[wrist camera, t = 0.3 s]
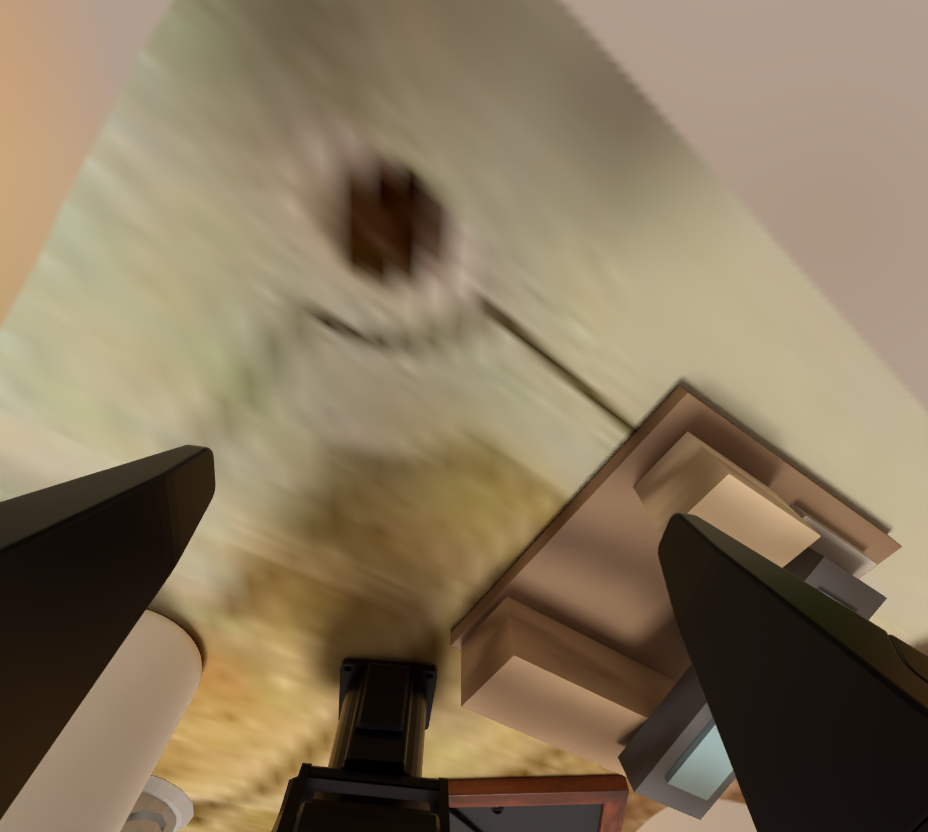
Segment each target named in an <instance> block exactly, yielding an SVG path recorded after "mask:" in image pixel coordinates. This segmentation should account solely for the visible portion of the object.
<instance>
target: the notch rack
mask: <svg viewBox="0 0 928 832" xmlns="http://www.w3.org/2000/svg"><path fill="white" fill-rule="evenodd" d="M675 513H686V514H693V515H696V516H698V517H700V518H701V519H703V520H705V521H706V522H708V523H710V524H711V525H713V526H714V527H716V528H718V529H719V530H721V531H723V532H724V533H726V534H728V535H729V536H731V537H733V538H734V539H736V540H737V541H739V542H741V543H742V544H744V545H746V546H747V547H749V548H751V549H752V550H754V551H755V552H757V553H759V554H760V555H762V556H764V557H765V558H767V559H769V560H770V561H772V562H773V563H775V564H777V565H778V566H780V567H782V568H783V567H784V566H785V565H786V564H788V563H789V562H790V561H791V560H793V559H794V558H795V557H796V556H797V555H799V554H800V553H801V552H802V551H804V550H805V549H806V548H807V547H809V548H811V549H813V550H814V551H816V552H818V553H819V554H821V555H823V556H824V557H826V558H827V559H829V560H830V561H832V562H833V563H835V564H836V565H838V566H839V567H841V568H842V569H844V570H845V571H847V572H848V573H850V574H851V575H853V576H854V577H856V578H857V579H859V578H860V577H862V576H863V575H864V574H866V573H867V572H869V571H870V570H871V569H873V568H874V567H875V566H877V565H878V564H879V563H881V562H882V561H883V560H885V559H886V558H887V557H889V556H890V555H891V554H893V553H894V552H895V551H897V550H898V549H899V548H901V547H902V546H901V545H900V544H899V543H897V542H896V541H895V540H893V539H892V538H891V537H890V536H888V535H887V534H886V533H884V532H883V531H881V530H880V529H879V528H877V527H876V526H875V525H873V524H872V523H870V522H869V521H868V520H866V519H865V518H863V517H862V516H861V515H859V514H858V513H856V512H855V511H854V510H852V509H851V508H849V507H848V506H847V505H845V504H844V503H842V502H841V501H840V500H838V499H837V498H835V497H834V496H833V495H831V494H830V493H828V492H827V491H826V490H824V489H823V488H822V487H820V486H819V485H817V484H816V483H815V482H813V481H812V480H810V479H809V478H808V477H806V476H805V475H803V474H802V473H801V472H799V471H798V470H796V469H795V468H794V467H792V466H791V465H789V464H788V463H787V462H785V461H784V460H782V459H781V458H780V457H778V456H777V455H775V454H774V453H773V452H771V451H770V450H769V449H767V448H766V447H764V446H763V445H762V444H760V443H759V442H757V441H756V440H755V439H753V438H752V437H750V436H749V435H748V434H746V433H745V432H743V431H742V430H741V429H739V428H738V427H736V426H735V425H734V424H732V423H731V422H729V421H728V420H727V419H725V418H724V417H722V416H721V415H720V414H718V413H717V412H715V411H714V410H713V409H711V408H710V407H709V406H707V405H706V404H704V403H703V402H702V401H700V400H699V399H697V398H696V397H695V396H693V395H692V394H690V393H689V392H688V391H686V390H685V389H683V388H682V387H681V386H678V387H677V388H676V389H675V390H674V391H673V392H672V393H671V394H670V395H669V397H668V398H667V399H666V400H665V401H664V402H663V403H662V404H661V405H660V406H659V407H658V408H657V410H656V411H655V412H654V413H653V414H652V415H651V416H650V417H649V418H648V419H647V420H646V422H645V423H644V424H643V425H642V426H641V427H640V428H639V429H638V430H637V431H636V432H635V433H634V435H633V436H632V437H631V438H630V439H629V440H628V441H627V442H626V443H625V444H624V445H623V447H622V448H621V449H620V450H619V451H618V452H617V453H616V454H615V455H614V456H613V457H612V458H611V460H610V461H609V462H608V463H607V464H606V465H605V466H604V467H603V468H602V469H601V470H600V472H599V473H598V474H597V475H596V476H595V477H594V478H593V479H592V480H591V481H590V482H589V483H588V485H587V486H586V487H585V488H584V489H583V490H582V491H581V492H580V493H579V494H578V495H577V497H576V498H575V499H574V500H573V501H572V502H571V503H570V504H569V505H568V506H567V507H566V508H565V510H564V511H563V512H562V513H561V514H560V515H559V516H558V517H557V518H556V519H555V520H554V522H553V523H552V524H551V525H550V526H549V527H548V528H547V529H546V530H545V531H544V532H543V533H542V535H541V536H540V537H539V538H538V539H537V540H536V541H535V542H534V543H533V544H532V545H531V547H530V548H529V549H528V550H527V551H526V552H525V553H524V554H523V555H522V556H521V557H520V558H519V560H518V561H517V562H516V563H515V564H514V565H513V566H512V567H511V568H510V569H509V570H508V572H507V573H506V574H505V575H504V576H503V577H502V578H501V579H500V580H499V581H498V582H497V583H496V585H495V586H494V587H493V588H492V589H491V590H490V591H489V592H488V593H487V594H486V595H485V597H484V598H483V599H482V600H481V601H480V602H479V603H478V604H477V605H476V606H475V607H474V608H473V610H472V611H471V612H470V613H469V614H468V615H467V616H466V617H465V618H464V619H463V620H462V622H461V623H460V624H459V625H458V626H457V627H456V628H455V629H454V630H453V631H452V632H451V647H453V648H455V649H457V650H460V651H461V707H463V708H466V709H468V710H470V711H473V712H475V713H477V714H480V715H482V716H484V717H487V718H489V719H491V720H494V721H496V722H498V723H501V724H503V725H505V726H508V727H510V728H513V729H515V730H517V731H520V732H522V733H524V734H527V735H529V736H531V737H534V738H536V739H538V740H541V741H543V742H545V743H548V744H550V745H552V746H555V747H557V748H559V749H562V750H564V751H567V752H569V753H571V754H574V755H576V756H578V757H581V758H583V759H585V760H588V761H590V762H592V763H595V764H597V765H599V766H602V767H604V768H606V769H609V770H611V771H613V772H616V773H618V774H621V775H623V776H625V777H627V776H626V774H625V772H624V770H623V768H622V765H621V763H620V761H619V759H618V756H619V755H620V754H621V752H622V751H623V750H624V748H625V747H626V746H627V745H628V743H629V742H630V741H631V740H632V738H633V737H634V736H635V735H636V733H637V732H638V731H639V729H640V728H641V727H642V726H643V724H644V723H645V722H646V721H647V719H648V718H649V717H650V716H651V714H652V713H653V712H654V711H655V709H656V708H657V707H658V705H659V704H660V703H661V702H662V700H663V699H664V698H665V697H666V695H667V694H668V693H669V692H670V690H671V689H672V688H673V686H674V685H675V684H676V683H677V681H678V680H679V679H680V678H681V676H682V675H683V674H684V673H685V671H686V670H687V669H688V667H689V666H690V665H691V664H692V663H691V660H690V658H689V655H688V653H687V650H686V647H685V645H684V642H683V640H682V637H681V634H680V631H679V629H678V626H677V622H676V619H675V616H674V613H673V609H672V605H671V602H670V598H669V594H668V591H667V587H666V583H665V580H664V576H663V572H662V569H661V565H660V561H659V558H658V546H659V542H660V540H661V538H662V535H663V533H664V531H665V528H666V526H667V524H668V521H669V519H670V517H671V516H672V515H673V514H675Z"/></svg>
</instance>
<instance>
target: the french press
mask: <svg viewBox="0 0 928 832" xmlns="http://www.w3.org/2000/svg"><path fill="white" fill-rule="evenodd" d="M193 816H194V811H193V803H192V802H191V800H190V799H189V798H188V797H187V795H186V794H185V793H184V792H183V790H181V789H179V788H178V787H176V786H174V785H173V784H171V783H169V782H168V781H166V780H164V779H161V778H158V777H155V776H152V775H150V777H149V779H148V781H147V783H146V785H145V786H144V788H143V790H142V792H141V794H140V796H139V798H138V799H137V801H136V803H135V805H134V807H133V809H132V810H131V812H130V814H129V816H128V818H127V820H126V822H125V823H124V825H123V827H122V829H121V831H120V832H177V831H178V830H180V829H182V828H183V827H185V826H186V825H187V824H188V823H189V821H190V820H191V819H192V817H193Z"/></svg>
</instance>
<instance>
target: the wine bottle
mask: <svg viewBox="0 0 928 832" xmlns="http://www.w3.org/2000/svg"><path fill="white" fill-rule="evenodd" d="M201 673H202V661H201V655H200V653H199V650H198V648H197V646H196V644H195V643H194V641H193V640H192V638H191V637H190V636H189V635H188V634H187V633H186V632H185V631H184V630H183V629H182V628H181V627H179V626H178V625H177V624H176V623H174V622H172V621H171V620H169V619H167V618H166V617H164V616H162V615H160V614H157V613H155V612H153V611H150V610H145V612H144V613H143V615H142V616H141V617H140V619H139V620H138V622H137V623H136V625H135V626H134V628H133V629H132V630H131V632H130V633H129V635H128V636H127V638H126V639H125V641H124V642H123V644H122V645H121V646H120V648H119V649H118V651H117V652H116V654H115V655H114V657H113V658H112V659H111V661H110V662H109V664H108V665H107V667H106V668H105V670H104V671H103V672H102V674H101V675H100V677H99V678H98V680H97V681H96V683H95V684H94V685H93V687H92V688H91V690H90V691H89V693H88V694H87V696H86V697H85V699H84V700H83V701H82V703H81V704H80V706H79V707H78V709H77V710H76V712H75V713H74V714H73V716H72V717H71V719H70V720H69V722H68V723H67V725H66V726H65V727H64V729H63V730H62V732H61V733H60V735H59V736H58V738H57V739H56V741H55V742H54V743H53V745H52V746H51V748H50V749H49V751H48V752H47V754H46V755H45V756H44V758H43V759H42V761H41V762H40V764H39V765H38V767H37V768H36V769H35V771H34V772H33V774H32V775H31V777H30V778H29V780H28V781H27V782H26V784H25V785H24V787H23V788H22V790H21V791H20V793H19V794H18V796H17V797H16V798H15V800H14V801H13V803H12V804H11V806H10V807H9V809H8V810H7V811H6V813H5V814H4V816H3V817H2V819H1V820H0V832H120V831H121V829H122V827H123V825H124V823H125V822H126V820H127V818H128V816H129V814H130V812H131V810H132V809H133V807H134V805H135V803H136V801H137V799H138V798H139V796H140V794H141V792H142V790H143V788H144V786H145V785H146V783H147V781H148V779H149V777H150V775H151V774H152V772H153V770H154V768H155V766H156V764H157V762H158V761H159V759H160V757H161V755H162V753H163V751H164V750H165V748H166V746H167V744H168V742H169V740H170V739H171V737H172V735H173V733H174V731H175V729H176V727H177V726H178V724H179V722H180V720H181V718H182V716H183V715H184V713H185V711H186V709H187V707H188V705H189V703H190V702H191V700H192V698H193V696H194V694H195V692H196V690H197V688H198V686H199V682H200V679H201Z"/></svg>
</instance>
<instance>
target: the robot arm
mask: <svg viewBox="0 0 928 832" xmlns="http://www.w3.org/2000/svg"><path fill="white" fill-rule="evenodd" d="M214 492H215V471H214V456H213V452H212V450H211V449H210V448H208V447H202V446H195V445H185V446H181V447H178V448H175V449H172V450H168V451H165V452H162V453H159V454H155V455H152V456H149V457H146V458H142V459H139V460H136V461H133V462H129V463H126V464H123V465H120V466H116V467H113V468H110V469H107V470H103V471H100V472H97V473H93V474H90V475H87V476H84V477H80V478H77V479H74V480H71V481H67V482H64V483H61V484H58V485H54V486H51V487H48V488H45V489H41V490H38V491H35V492H32V493H28V494H25V495H22V496H19V497H15V498H12V499H9V500H6V501H2V502H0V820H1V819H2V817H3V816H4V814H5V813H6V811H7V810H8V809H9V807H10V806H11V804H12V803H13V801H14V800H15V798H16V797H17V796H18V794H19V793H20V791H21V790H22V788H23V787H24V785H25V784H26V782H27V781H28V780H29V778H30V777H31V775H32V774H33V772H34V771H35V769H36V768H37V767H38V765H39V764H40V762H41V761H42V759H43V758H44V756H45V755H46V754H47V752H48V751H49V749H50V748H51V746H52V745H53V743H54V742H55V741H56V739H57V738H58V736H59V735H60V733H61V732H62V730H63V729H64V727H65V726H66V725H67V723H68V722H69V720H70V719H71V717H72V716H73V714H74V713H75V712H76V710H77V709H78V707H79V706H80V704H81V703H82V701H83V700H84V699H85V697H86V696H87V694H88V693H89V691H90V690H91V688H92V687H93V685H94V684H95V683H96V681H97V680H98V678H99V677H100V675H101V674H102V672H103V671H104V670H105V668H106V667H107V665H108V664H109V662H110V661H111V659H112V658H113V657H114V655H115V654H116V652H117V651H118V649H119V648H120V646H121V645H122V644H123V642H124V641H125V639H126V638H127V636H128V635H129V633H130V632H131V630H132V629H133V628H134V626H135V625H136V623H137V622H138V620H139V619H140V617H141V616H142V615H143V613H144V612H145V610H146V609H147V607H148V606H149V604H150V603H151V602H152V600H153V599H154V597H155V596H156V594H157V593H158V591H159V590H160V589H161V587H162V586H163V584H164V583H165V581H166V580H167V578H168V577H169V575H170V574H171V572H172V571H173V569H174V568H175V566H176V564H177V563H178V561H179V559H180V558H181V556H182V554H183V552H184V550H185V548H186V547H187V545H188V543H189V541H190V539H191V537H192V535H193V533H194V532H195V530H196V528H197V526H198V524H199V522H200V520H201V519H202V517H203V515H204V513H205V511H206V509H207V507H208V505H209V504H210V502H211V500H212V498H213V495H214ZM658 558H659V561H660V565H661V569H662V572H663V576H664V580H665V583H666V587H667V591H668V594H669V598H670V602H671V605H672V609H673V613H674V616H675V619H676V622H677V626H678V629H679V631H680V634H681V637H682V640H683V642H684V645H685V647H686V650H687V653H688V655H689V658H690V660H691V663H692V665H693V668H694V671H695V673H696V676H697V678H698V681H699V683H700V686H701V689H702V691H703V694H704V696H705V699H706V701H707V704H708V707H709V709H710V712H711V714H712V717H713V719H714V722H715V725H716V727H717V730H718V732H719V735H720V737H721V740H722V743H723V745H724V748H725V750H726V753H727V755H728V758H729V761H730V763H731V766H732V768H733V771H734V773H735V776H736V779H737V781H738V784H739V786H740V789H741V791H742V794H743V797H744V799H745V802H746V804H747V807H748V809H749V812H750V814H751V817H752V820H753V822H754V825H755V827H756V830H757V832H928V656H926V655H925V654H923V653H921V652H920V651H918V650H916V649H915V648H913V647H911V646H910V645H908V644H906V643H905V642H903V641H901V640H900V639H898V638H897V637H895V636H893V635H888V634H887V632H886V631H885V630H883V629H882V628H880V627H878V626H877V625H875V624H873V623H872V622H870V621H869V620H867V619H865V618H864V617H862V616H860V615H859V614H857V613H855V612H854V611H852V610H850V609H849V608H847V607H846V606H844V605H842V604H841V603H839V602H837V601H836V600H834V599H832V598H831V597H829V596H828V595H826V594H824V593H823V592H821V591H819V590H818V589H816V588H814V587H813V586H811V585H810V584H808V583H806V582H805V581H803V580H801V579H800V578H798V577H796V576H795V575H793V574H792V573H790V572H788V571H787V570H785V569H783V568H782V567H780V566H778V565H777V564H775V563H773V562H772V561H770V560H769V559H767V558H765V557H764V556H762V555H760V554H759V553H757V552H755V551H754V550H752V549H751V548H749V547H747V546H746V545H744V544H742V543H741V542H739V541H737V540H736V539H734V538H733V537H731V536H729V535H728V534H726V533H724V532H723V531H721V530H719V529H718V528H716V527H714V526H713V525H711V524H710V523H708V522H706V521H705V520H703V519H701V518H700V517H698V516H696V515H693V514H686V513H675V514H673V515H672V516H671V517H670V519H669V521H668V524H667V526H666V528H665V531H664V533H663V535H662V538H661V540H660V542H659V546H658ZM436 679H437V669H436V668H435V667H434V666H429V665H418V664H407V663H395V662H384V661H373V660H362V659H350V658H348V659H344V660H343V661H342V664H341V668H340V694H339V723H338V727H337V731H336V735H335V740H334V744H333V748H332V752H331V757H330V761H329V765H328V767H320V766H312V764H310V763H302V766H301V769H300V772H299V775H298V776H297V777H295V778H293V779H290V780H289V783H288V786H287V789H286V793H285V796H284V799H283V803H282V806H281V809H280V812H279V815H278V817H277V820H276V822H275V824H274V827H273V829H272V831H271V832H450V817H449V792H448V778H440V777H439V779H432V778H423V777H422V764H423V750H424V736H425V730H426V729H428V727H429V721H430V715H431V709H432V703H433V697H434V691H435V685H436Z"/></svg>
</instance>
